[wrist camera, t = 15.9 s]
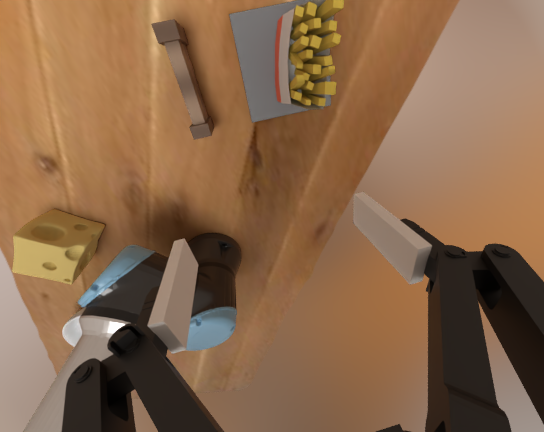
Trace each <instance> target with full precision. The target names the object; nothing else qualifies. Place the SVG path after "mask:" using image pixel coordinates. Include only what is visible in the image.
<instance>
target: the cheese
mask: <svg viewBox="0 0 544 432" xmlns="http://www.w3.org/2000/svg"><path fill="white" fill-rule="evenodd" d="M104 227H105V225H104V224H102V223H98V222H94V221H90V220H87V219H84V218H81V217H77V216H74V215H71V214H68V213H65V212H63V211H60V210H57V209H53V210H51V211H49V212H47V213H45V214H42V215H41V216H39V217H37V218H35V219H33V220H31V221H30V222H28V223H27V224H26V225H24V226H23V227H22V228H21V229H20V230H19V231H18V232H17V233H16V234H15V235H14V236H13V241H14V261H13V269H12V272H15V273H19V274H23V275H28V276H34V277H40V278H45V279H50V280H54V281H58V282H62V283H66V284H72V283H73V282H74V281H75V280H76V279H77V277H78V276H79V275H80V273H81V272H82V270H83V269H84V268H85V267H86V265H87V264H88V263H89V261H90V260H91V259H92V257H93V256H94V254H95V252H96V248H97V245H98V239H99V237H100V236H101V234H102V231H103V229H104Z"/></svg>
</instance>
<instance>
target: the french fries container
mask: <svg viewBox="0 0 544 432" xmlns="http://www.w3.org/2000/svg"><path fill="white" fill-rule="evenodd" d="M343 4H344V0H311V1H309V2H306V3H304V4H302V5H300V6H298V5H296V7H295V8H293V9H292V10H290V11H288V12H287V13H285V14H283V15H282V16H281V18H280V19H279V20H278V23H277V32H276V41H275V87H276V95H277V101H278V102H280V103H285V104H292V105H296V106H299V107H302V108H305V109H308V110H314V109H323V108H324V106H325V102H326V98H325V94H327V95H335V93H336V82H326V81H327V76H329V75H332V74H334V73H335V66H328V65H333V63H332V56H329V54H330V48H331V47H334V46H336V45H339V42H340V38H341V35H339V34H337V33H335V32H334V31H336V27H337V21H333V18H334V14H336V13H337V12H339V11H340V10H341V9H343ZM332 32H334V33H332Z"/></svg>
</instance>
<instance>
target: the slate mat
mask: <svg viewBox="0 0 544 432" xmlns="http://www.w3.org/2000/svg"><path fill="white" fill-rule="evenodd" d="M309 1H311V0H297V1H292V2H287V3H282V4H277V5H272V6H267V7H262V8H257V9H252V10H247V11H243V12H238V13H233V14H229V16H230V20H231V25H232V30H233V35H234V39H235V44H236V49H237V53H238V58H239V63H240V68H241V72H242V77H243V82H244V87H245V91H246V96H247V101H248V105H249V110H250V115H251V120H252V122H257V121H261V120H266V119H270V118H275V117H279V116H284V115H288V114H293V113H298V112H302V111H307V110H308V109H305V108H302V107H299V106H296V105H292V104H285V103H280V102H278V101H277V95H276V87H275V41H276V32H277V23H278V20H279V19H280V18H281V16H282V15H283V14H285V13H287V12H288V11H290V10H292V9H293V8H295V7H296V5H298V6H300V5H302V4H304V3H306V2H309ZM329 56H330V54H329ZM328 66H330V65H328ZM326 82H330V75H329V76H327V81H326ZM325 98H326V102H325V106H329V105H331V95H327V94H325ZM325 106H324V107H325Z"/></svg>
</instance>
